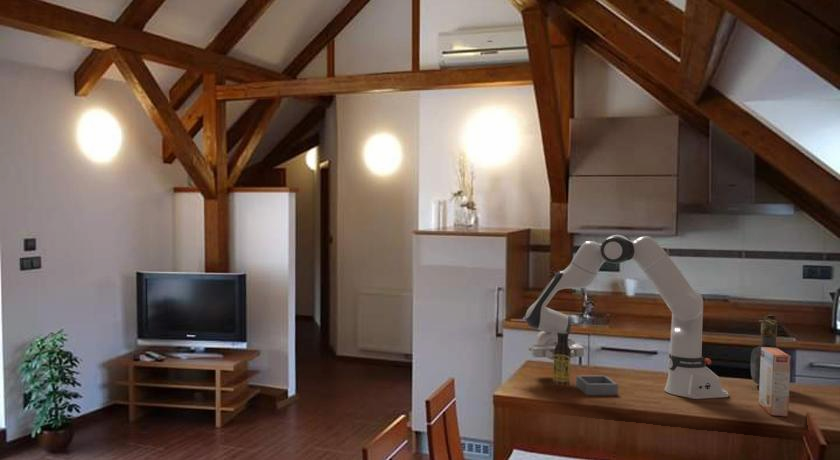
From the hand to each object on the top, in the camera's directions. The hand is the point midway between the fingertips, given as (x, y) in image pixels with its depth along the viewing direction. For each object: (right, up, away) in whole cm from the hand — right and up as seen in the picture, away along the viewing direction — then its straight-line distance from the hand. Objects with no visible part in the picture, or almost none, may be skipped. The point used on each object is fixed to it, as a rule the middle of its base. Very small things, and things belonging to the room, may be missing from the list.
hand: (562, 355), depth 254 cm
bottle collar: (+13, -14, +3) cm, 19 cm away
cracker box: (+69, -16, -20) cm, 73 cm away
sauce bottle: (0, -11, +1) cm, 11 cm away
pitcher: (+81, -15, +9) cm, 83 cm away
